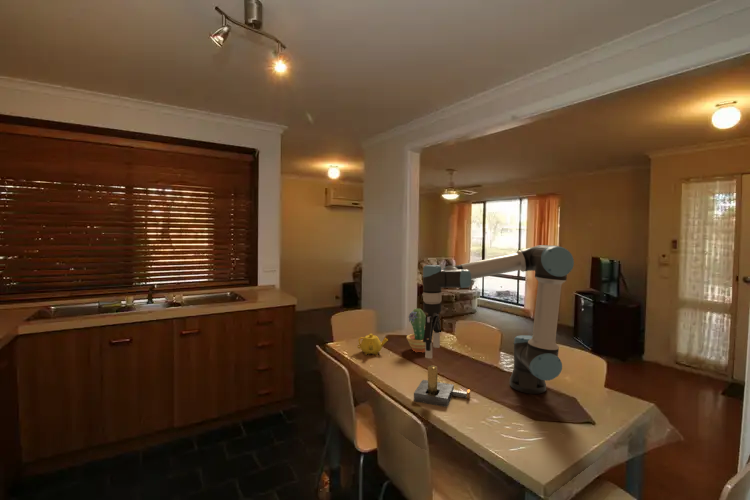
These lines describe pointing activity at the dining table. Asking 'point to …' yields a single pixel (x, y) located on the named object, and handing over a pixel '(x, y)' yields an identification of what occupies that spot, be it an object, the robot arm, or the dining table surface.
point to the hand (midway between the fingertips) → (432, 352)
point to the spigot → (432, 380)
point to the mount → (440, 399)
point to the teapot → (371, 344)
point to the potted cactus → (417, 330)
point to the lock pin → (461, 393)
